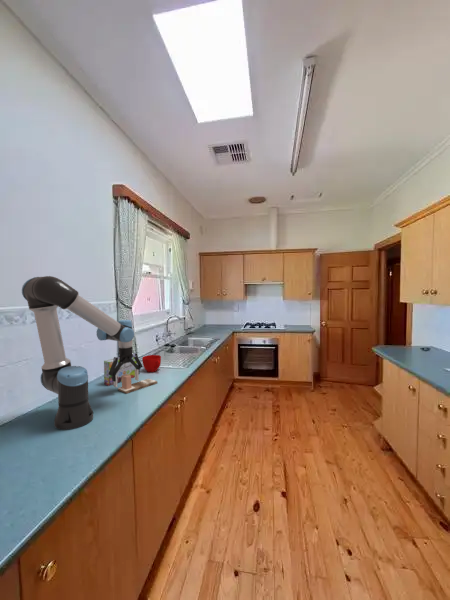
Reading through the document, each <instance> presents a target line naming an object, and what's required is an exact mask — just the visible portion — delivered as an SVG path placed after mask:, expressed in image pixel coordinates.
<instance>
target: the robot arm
mask: <svg viewBox="0 0 450 600" xmlns="http://www.w3.org/2000/svg"><path fill="white" fill-rule="evenodd" d="M21 295H22V297H23V298H24V300H26V301H27V305H28V310H30V311H32V312H33V313H34V318H35V323H36V328H37V333H38V338H39V341H40V347H41V352H42V353H41V354H42V357H43V364H42V366H41V371H42V372H41V374H40V383H41V385H42V387H44V388H45V389H46V390H48V391H50V392H53V394H57V397H58V398H57V399H58V400H57V402H58V408H57V410H56V414H55V417H54V420H53V421H54V422H53V424H54V428H55V429H57V430H63V431H64V430H72V429H77V428H81V427H83V426H85V425H87V424H89V423H90V422H92V420H93V419H94V412H93V408H92V406H91V403H90V401H89V375H88V370H87V368H85V367H84V366H79V365H72V362H71V359H69V358H67V356H66V351H65V347H64V342H63V341H64V340H63V337H62V332H61V326H60V320H59V316H58V310H57V309H58V307H59V308H60V309H62V310H68V311H70V312H71V313H73V314H75V315H76V316H78V317H79V318H82V319H83V320H85V321H86V322H88V323H89V324H91V325H92V326H93V327H95V328H97V329H96V338H97V339H98V340H99V341H115V342H118V357H117V356H114V357H113V359H114V360H113V363H112V366H111V368H110V371H109V373H108V374H109V375H111V376H112V381H114V384H113V387H114V388H119V387H118V383H117V375H116V374H117V372H118V371H119V369H120V368H121V366H122V365H123V364H125V363H129V362H130V363H131V364H132V365H133V366H134V367H135V368H136V369H135V377H134V380H135V381H137V382H139V375H140V370H141V369H142V368H144V366H143V363H141V360H140V359H139V356H138V353H137V352H134V351H133V345H134V344H133V339H134V337H135V331H134V330H133V322H132V320H131V319H120V320H118V321H117V320H115V319H114V318H113V317H111V316H110V315H108V314H107V313H105V312H104V311H103V310H101V309H99V307H96V306H95V305H93V303H91V302H89V301H88V300H87V299H85V298H83V296H80V293H79V291H78V290H76V288H73V287H72V286H71V285H69V284H68V283H66V282H65V281H63V280H62V279H60V278H58V277H55V276H50V275H49V276H48V275H45V276H36V277H35V276H34V277H33V278H29V279H28V280H26V281H25V282H24V283H23V285H22V287H21ZM132 357H134V359H135V360H136V362H137V364H136V363H135V362H134V360H133V359H132ZM118 360H120V361H119V362H118ZM117 362H118V365H117ZM116 365H117V366H116ZM115 367H116V368H115Z"/></svg>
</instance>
